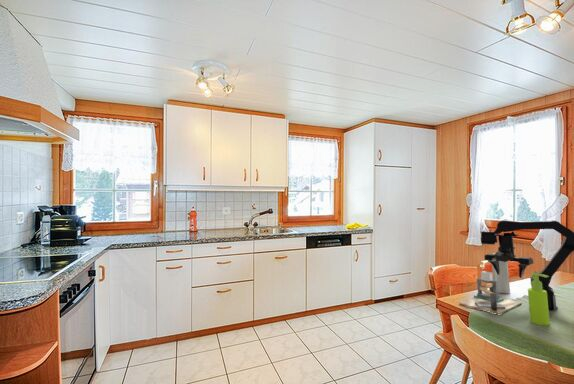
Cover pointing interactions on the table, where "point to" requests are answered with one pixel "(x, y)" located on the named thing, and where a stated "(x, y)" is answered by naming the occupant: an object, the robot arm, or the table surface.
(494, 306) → the wooden crank handle
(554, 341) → the table surface
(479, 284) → the grey boxy piece
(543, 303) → the soap dispenser
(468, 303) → the beige rectangular panel
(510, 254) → the robot arm
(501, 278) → the paper towel roll
